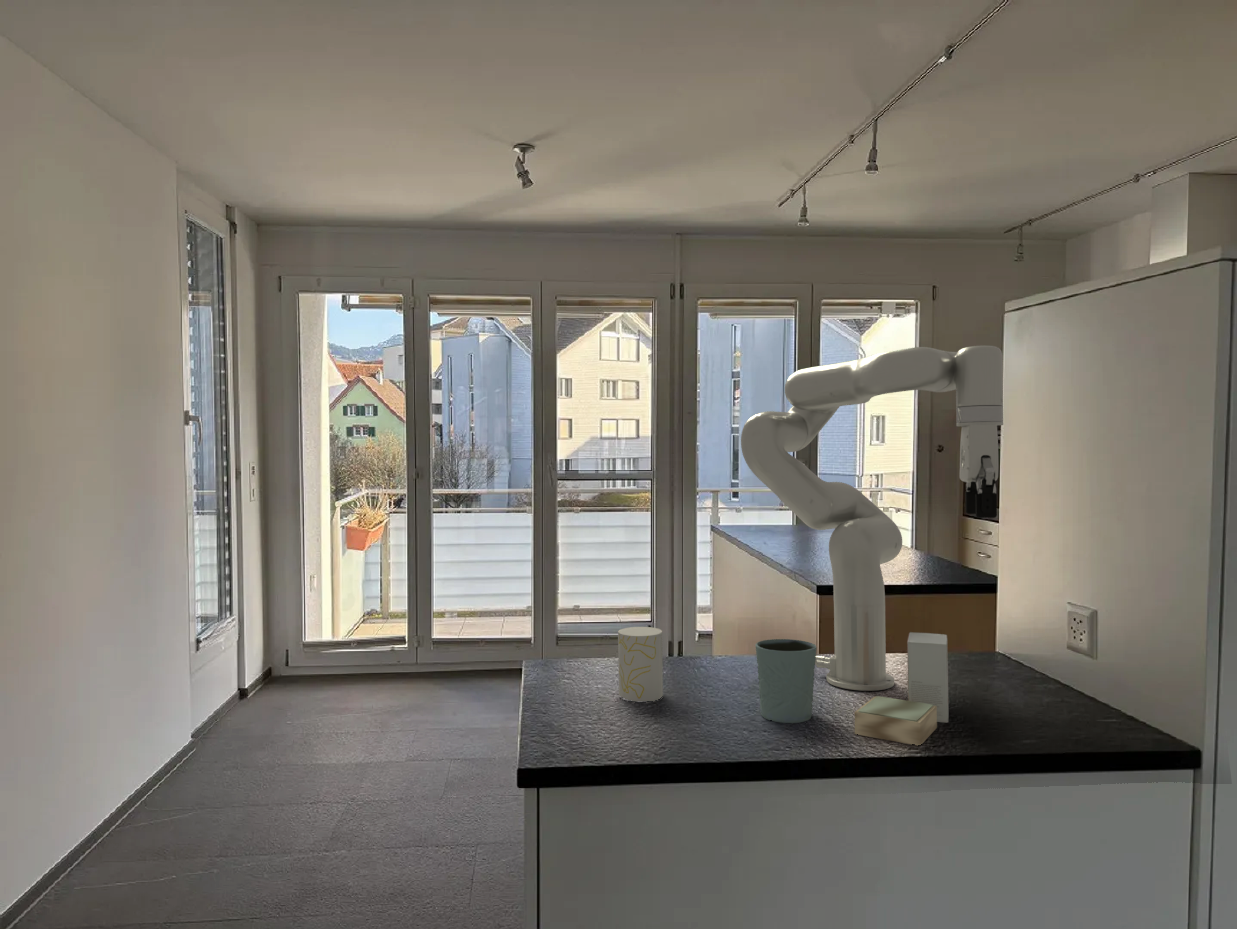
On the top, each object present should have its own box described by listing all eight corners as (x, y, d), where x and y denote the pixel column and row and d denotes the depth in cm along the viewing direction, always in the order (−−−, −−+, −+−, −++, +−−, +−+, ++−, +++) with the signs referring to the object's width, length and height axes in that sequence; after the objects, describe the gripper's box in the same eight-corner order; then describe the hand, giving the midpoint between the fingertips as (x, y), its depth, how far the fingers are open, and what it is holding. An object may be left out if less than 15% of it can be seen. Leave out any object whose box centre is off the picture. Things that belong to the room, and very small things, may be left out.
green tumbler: (751, 720, 138) (750, 649, 138) (762, 703, 147) (761, 636, 147) (813, 727, 134) (812, 653, 134) (820, 709, 144) (819, 640, 144)
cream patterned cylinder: (612, 700, 151) (611, 634, 150) (628, 688, 158) (627, 625, 158) (654, 704, 147) (653, 637, 147) (668, 692, 155) (668, 628, 155)
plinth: (854, 734, 130) (854, 710, 130) (874, 717, 139) (874, 695, 139) (920, 746, 125) (919, 721, 125) (936, 727, 133) (936, 704, 133)
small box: (909, 705, 145) (908, 631, 145) (948, 709, 142) (947, 634, 142) (907, 719, 137) (906, 641, 137) (948, 723, 135) (947, 644, 135)
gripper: (948, 420, 154) (950, 512, 154) (965, 415, 137) (966, 519, 137) (992, 419, 152) (993, 512, 152) (1014, 414, 135) (1015, 519, 135)
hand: (980, 515), depth 144 cm, fingers open, 9 cm apart
